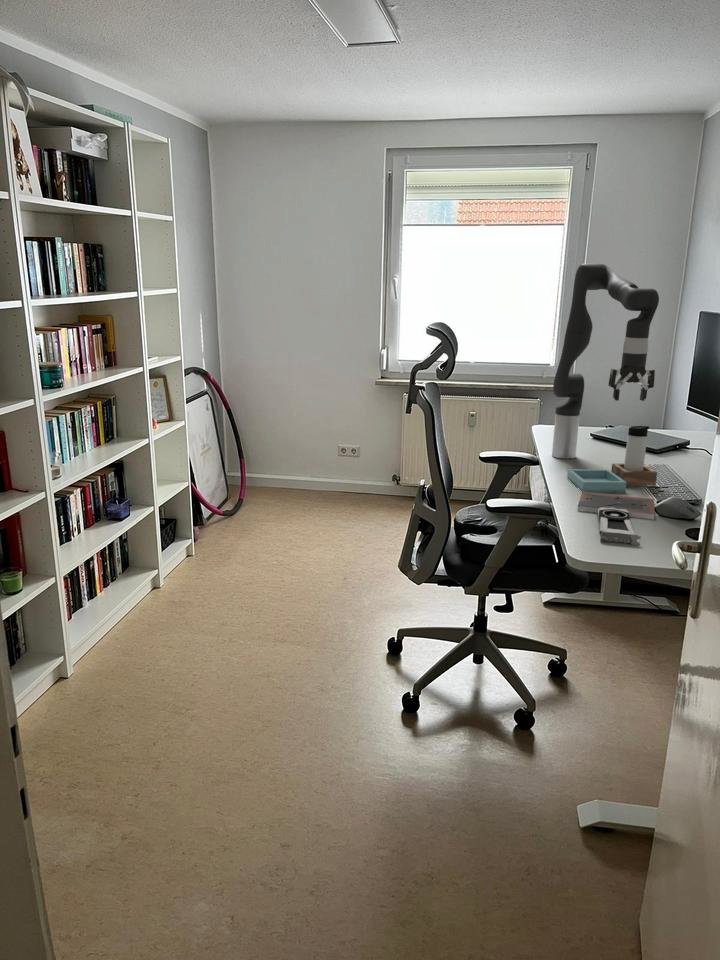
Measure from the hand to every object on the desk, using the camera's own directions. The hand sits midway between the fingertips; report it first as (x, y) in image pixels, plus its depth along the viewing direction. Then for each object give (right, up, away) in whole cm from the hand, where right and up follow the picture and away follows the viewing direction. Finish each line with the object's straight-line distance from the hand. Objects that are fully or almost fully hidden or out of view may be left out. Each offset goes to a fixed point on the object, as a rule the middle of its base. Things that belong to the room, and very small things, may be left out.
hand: (629, 400), depth 228 cm
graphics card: (-18, -41, -36) cm, 58 cm away
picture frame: (-11, -36, -17) cm, 41 cm away
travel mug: (+6, -27, +11) cm, 30 cm away
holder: (+6, -27, +11) cm, 30 cm away
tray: (-9, -29, +6) cm, 31 cm away
